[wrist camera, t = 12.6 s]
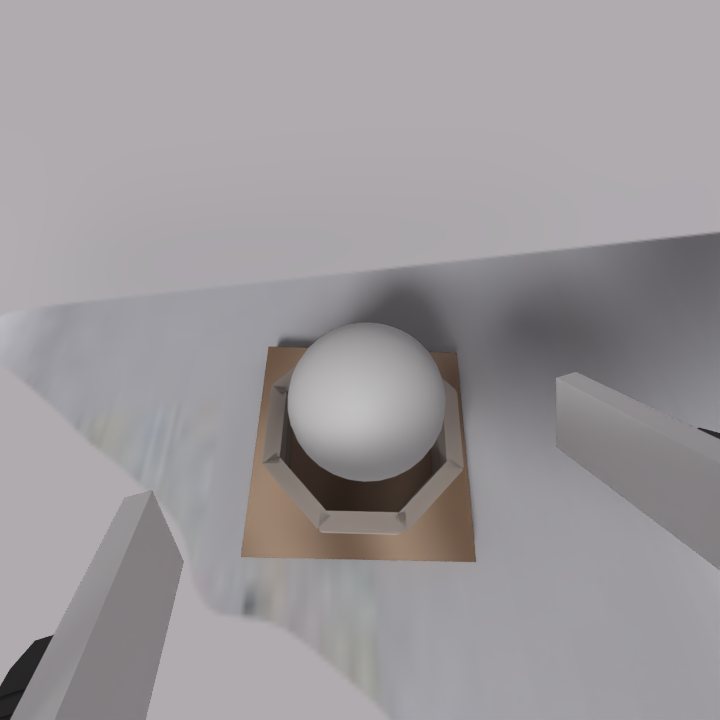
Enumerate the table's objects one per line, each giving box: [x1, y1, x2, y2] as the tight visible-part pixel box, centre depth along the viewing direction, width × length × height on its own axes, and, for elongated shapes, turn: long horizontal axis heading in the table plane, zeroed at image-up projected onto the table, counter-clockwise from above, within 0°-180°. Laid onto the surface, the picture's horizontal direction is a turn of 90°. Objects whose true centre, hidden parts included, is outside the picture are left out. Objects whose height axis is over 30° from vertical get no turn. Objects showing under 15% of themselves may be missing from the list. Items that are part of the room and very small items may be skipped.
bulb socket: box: [241, 347, 476, 562], centre depth 22 cm, size 12×12×5 cm
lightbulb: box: [288, 322, 446, 482], centre depth 18 cm, size 6×6×11 cm
